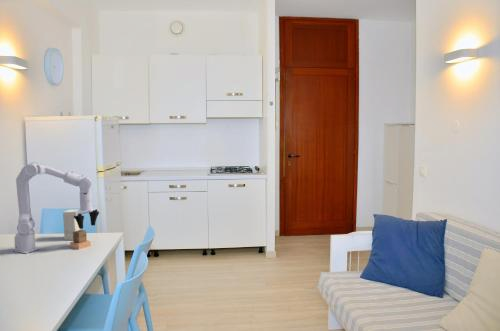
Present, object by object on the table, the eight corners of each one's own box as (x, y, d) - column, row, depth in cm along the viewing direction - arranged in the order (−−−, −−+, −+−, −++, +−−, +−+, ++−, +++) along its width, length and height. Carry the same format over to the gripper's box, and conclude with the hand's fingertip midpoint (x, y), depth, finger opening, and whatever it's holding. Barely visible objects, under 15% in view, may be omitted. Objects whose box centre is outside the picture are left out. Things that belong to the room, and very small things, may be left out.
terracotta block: (70, 248, 215) (70, 242, 215) (82, 244, 221) (82, 239, 221) (78, 250, 212) (78, 244, 211) (90, 246, 217) (90, 241, 217)
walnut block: (73, 242, 215) (72, 231, 215) (80, 240, 219) (80, 229, 219) (79, 243, 213) (78, 232, 213) (86, 241, 217) (86, 230, 216)
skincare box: (75, 240, 228) (74, 212, 226) (63, 240, 228) (61, 212, 227) (81, 236, 236) (80, 208, 235) (70, 236, 236) (68, 209, 235)
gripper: (79, 204, 207) (80, 231, 209) (102, 199, 220) (103, 224, 221) (69, 202, 211) (71, 229, 212) (93, 198, 223) (94, 223, 225)
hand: (87, 226), depth 217 cm, fingers open, 7 cm apart
